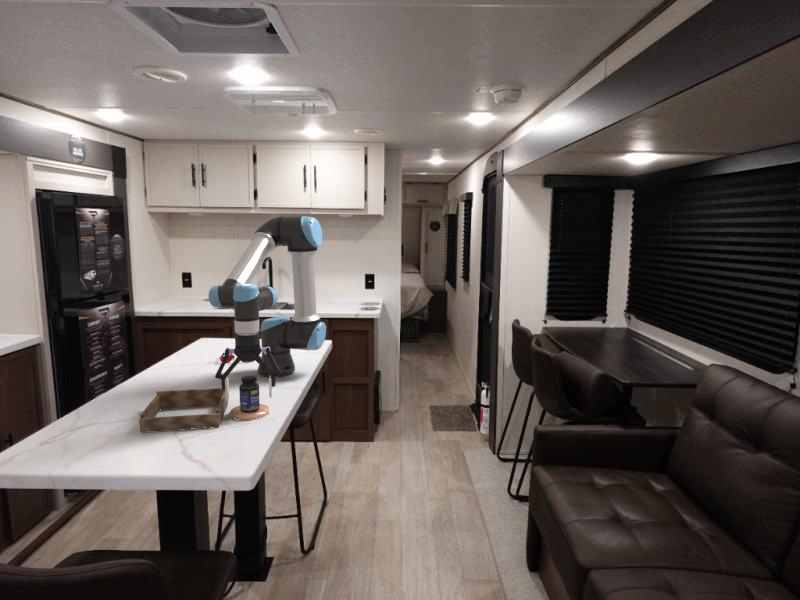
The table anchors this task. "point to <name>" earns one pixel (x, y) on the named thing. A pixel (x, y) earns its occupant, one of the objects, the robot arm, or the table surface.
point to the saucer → (241, 415)
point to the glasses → (228, 358)
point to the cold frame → (184, 400)
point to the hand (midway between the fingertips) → (249, 397)
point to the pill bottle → (249, 394)
